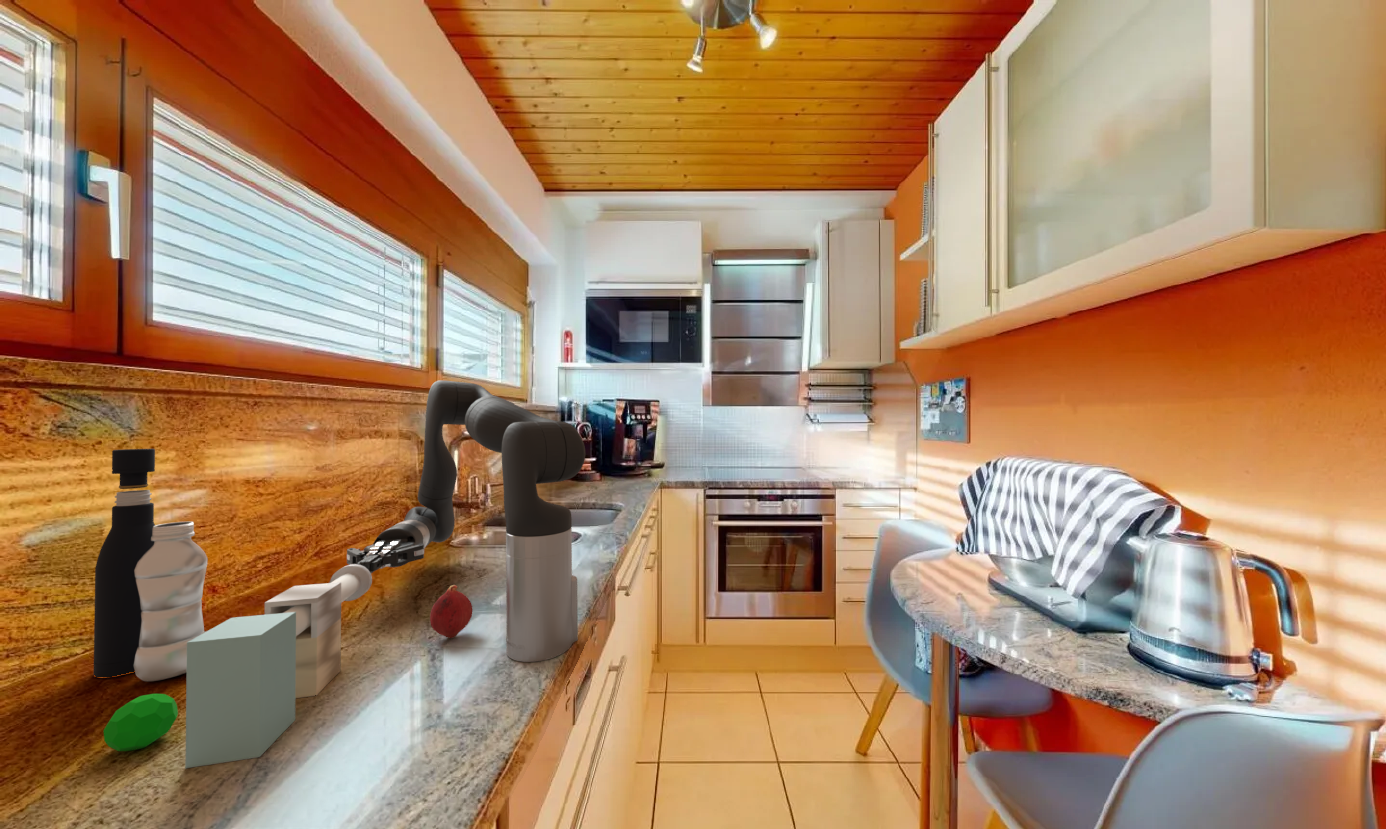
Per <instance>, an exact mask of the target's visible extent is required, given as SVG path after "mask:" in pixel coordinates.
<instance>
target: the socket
mask: <svg viewBox="0 0 1386 829" xmlns="http://www.w3.org/2000/svg"><path fill="white" fill-rule="evenodd" d="M185 679H186V683H185V684H186V688H185V689H186V692H185V694H186V696H185V697H186V698H185V754H184V755H185V762H184V765H185V767H184V769H189V768H195V767H203V766H210V765H216V764H222V763H223V764H224V763H229V762H235V761H241V760H248V759H255V758H260V757H261V756H262V755H263V754H264V753H265V752H266V751H267V750H268V749H269V748H270V747H271V746H272V745H273V744H274V743H275V741H277V739H279V738H280V737H281V735H282V734H283V733H284V732H285V731H286V730H287V729H288V728H289V727H290V726H291V725H292V724H293V723H294V722H295V721H296V698H295V679H296V612H289V613H278V614H267V615H265V614H257V615H246V616H237V617H229V619H226V620H225V621H223V622H221V623H220V624H218V625H216V626H214V627H213V628H210V629H209V630H206V631H205V633H203V634H201V635H199V636H198V637H196V638H194V639H192V640H190V641H189V642H187V673H186V678H185Z"/></svg>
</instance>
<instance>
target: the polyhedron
mask: <svg viewBox="0 0 1386 829" xmlns="http://www.w3.org/2000/svg"><path fill="white" fill-rule="evenodd" d="M178 715H179V711H178V703H177V702H176V701H175V699H174V698H173V697H172V696H169V695H168V694H165V693H149V694H144V695H140V696H138V697H136V698H134V699H132V700H129V702H127V703H125V704H124V705H123V706H121V707H119V708H118V709H116V710H115V711H114V713H113V715H112V716H111V718H110V719H109V721H108V722H107V723H106V726H104V729H103V739H104V743H105V744H106V745H107V747H108V748H111V749H113V750H115V751H117V752H130V751H131V752H132V751H136V750H140V749H145V748H147V747H148V746H150V745H152V743H154V742H156V741H157V740H158V739H161V737H163V736H164V735H166V734H167V733H168V732H169V731H170V729H171V728H172V727H173V725H174V723H175V721H176V719H177V717H178Z"/></svg>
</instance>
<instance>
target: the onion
mask: <svg viewBox="0 0 1386 829" xmlns="http://www.w3.org/2000/svg"><path fill="white" fill-rule="evenodd" d="M457 589H458V586H457V585H455V584H453V585H450V586H449V587H448V588H447V590H446V592H445V593H443V594H442V595H440V596H439V597H438V598H437V600H436V601H435V602H434V604H433V606H432V607H431V610H430V614H429V621H430V626H431V628H432V629H433V631H435V633H437V634H439V635H441V636H443V637H445V638H448V639H453V638H456V636H457V635H459V633H460V632H461V631H463V630H465V628H466V627H467V626H468V624H469V623H470V620H472V619H471V618H472V617H473V616H472V615H473V610H474V609H473V605H472V602H471V601H470V599H469V598H468V596H467V595H466V594H464V593H463V592H461V591H459V590H457Z"/></svg>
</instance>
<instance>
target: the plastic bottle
mask: <svg viewBox="0 0 1386 829" xmlns="http://www.w3.org/2000/svg"><path fill="white" fill-rule="evenodd" d="M194 529H195V523H194V521H175V522H167V523H161V524H156V525H155V526H153V531H152V537H151V541H154V545H153V546H152V547H151V548H150V549H149V550H148V551H147V552H146V553H145V554H144V555H143V556H142V558H141V559H140V560H139V561H138V563H137V565H136V567H135V570H134V572H135V577H136V583H137V588H138V592H139V597H140V606H141V610H142V612H141V619H142V622H141V630H140V638H139V646H138V648H137V651H136V655H135V660H134V665H133V666H134V670H135V673H134V674H135V676H136V677H137V678H138V679H139V680H141V681H142V682H157V681H163V680H166V679H171V678H174V677H178V676H181V675H183V674H187V642H189V641H190V640H192V639H194V638H196V637H198V636H199V635H201V634H203V633H205V632H206V631H205V627H204V626H205V624H204V617H203V610H202V605H203V604H202V603H203V600H202V598H203V591H204V590H203V589H204V584H205V578H206V572H207V566H208V560H209V559H208V556H207V554H206V552H205V551H204V550H203V548H202V547H201V546H199V544H197V543H196V542H195V541H193V540H192V537H193V536H195V534H196V532H195V531H194Z"/></svg>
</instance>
